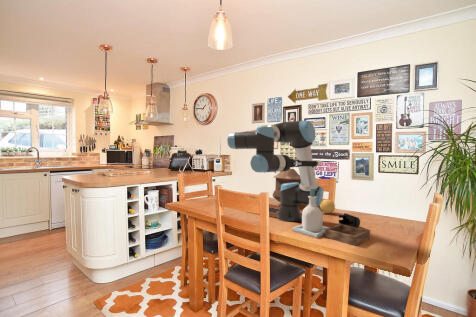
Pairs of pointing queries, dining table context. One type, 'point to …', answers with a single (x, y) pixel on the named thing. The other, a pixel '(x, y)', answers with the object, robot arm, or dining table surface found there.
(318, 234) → the tray
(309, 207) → the soap bottle
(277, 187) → the pottery vessel
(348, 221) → the end cap
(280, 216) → the robot arm
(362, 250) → the dining table surface
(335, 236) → the walnut holder
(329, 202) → the stress ball
